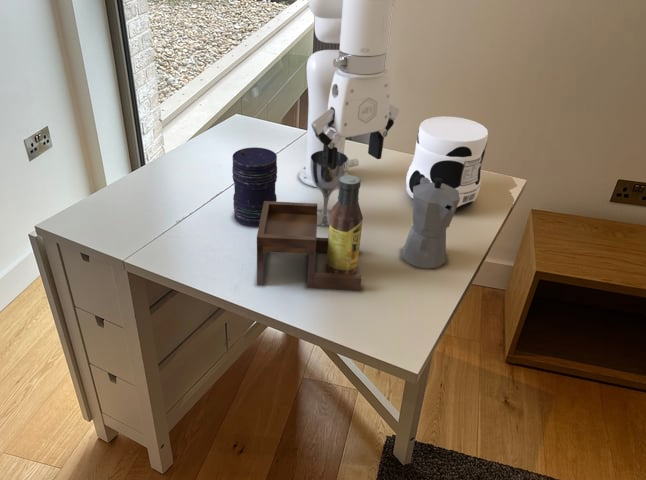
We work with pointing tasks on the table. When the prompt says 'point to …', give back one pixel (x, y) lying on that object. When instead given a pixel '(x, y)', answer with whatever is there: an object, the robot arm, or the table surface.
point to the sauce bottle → (345, 228)
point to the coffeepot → (430, 222)
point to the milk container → (450, 155)
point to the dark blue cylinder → (253, 183)
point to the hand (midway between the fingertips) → (352, 161)
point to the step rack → (297, 242)
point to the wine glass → (326, 181)
